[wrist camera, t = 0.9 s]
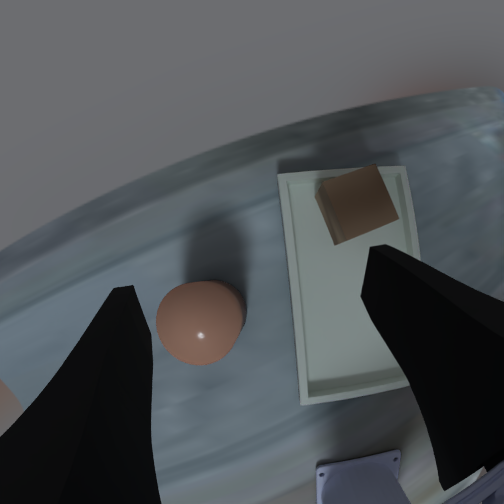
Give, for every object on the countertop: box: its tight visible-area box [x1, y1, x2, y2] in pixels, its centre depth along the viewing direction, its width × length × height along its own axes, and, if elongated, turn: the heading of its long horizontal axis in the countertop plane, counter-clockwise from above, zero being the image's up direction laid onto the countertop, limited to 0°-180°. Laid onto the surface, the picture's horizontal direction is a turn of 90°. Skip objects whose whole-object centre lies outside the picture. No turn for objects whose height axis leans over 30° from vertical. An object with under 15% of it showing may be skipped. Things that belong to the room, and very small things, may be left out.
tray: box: [277, 166, 421, 406], centre depth 22 cm, size 17×10×2 cm, turn 6°
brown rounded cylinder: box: [156, 280, 247, 365], centre depth 21 cm, size 5×5×6 cm
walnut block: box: [315, 164, 399, 246], centre depth 21 cm, size 4×4×4 cm
